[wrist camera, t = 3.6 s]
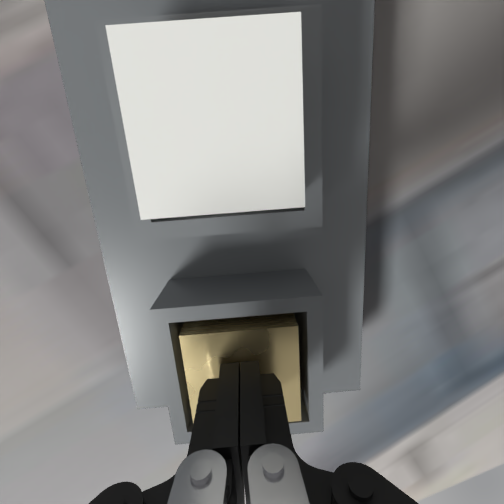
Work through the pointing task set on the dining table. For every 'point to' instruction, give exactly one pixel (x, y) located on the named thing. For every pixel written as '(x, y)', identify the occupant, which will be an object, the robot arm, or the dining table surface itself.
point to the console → (232, 224)
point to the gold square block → (243, 352)
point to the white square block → (212, 113)
